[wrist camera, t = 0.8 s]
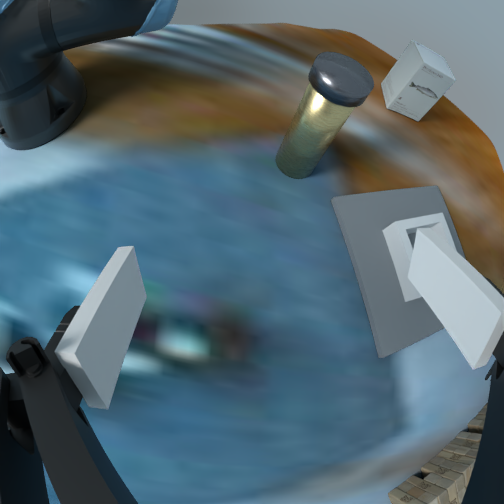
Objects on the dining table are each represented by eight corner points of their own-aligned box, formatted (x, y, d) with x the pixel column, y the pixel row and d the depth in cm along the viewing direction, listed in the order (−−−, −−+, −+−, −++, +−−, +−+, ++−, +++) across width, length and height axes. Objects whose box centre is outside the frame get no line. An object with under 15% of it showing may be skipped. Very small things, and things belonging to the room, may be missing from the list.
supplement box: (385, 109, 46) (422, 61, 35) (380, 83, 49) (411, 37, 37) (418, 123, 47) (457, 81, 36) (411, 97, 50) (444, 56, 38)
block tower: (394, 521, 27) (513, 410, 34) (427, 543, 19) (547, 411, 26) (383, 489, 29) (507, 375, 36) (419, 511, 21) (543, 373, 28)
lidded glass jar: (267, 145, 39) (306, 49, 24) (307, 142, 40) (357, 55, 25) (280, 184, 37) (330, 91, 22) (322, 179, 39) (384, 95, 24)
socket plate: (330, 200, 38) (344, 185, 34) (433, 188, 43) (448, 176, 39) (378, 357, 33) (398, 357, 29) (474, 308, 38) (493, 303, 34)
